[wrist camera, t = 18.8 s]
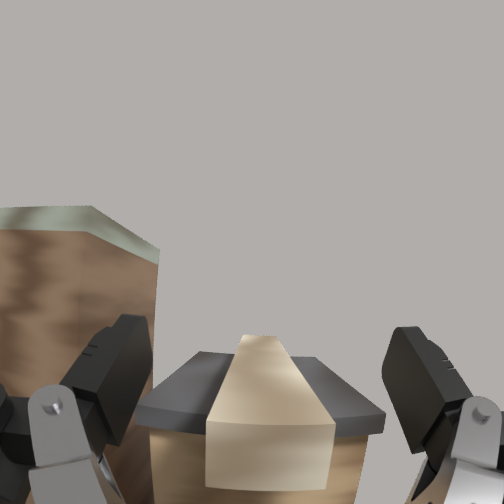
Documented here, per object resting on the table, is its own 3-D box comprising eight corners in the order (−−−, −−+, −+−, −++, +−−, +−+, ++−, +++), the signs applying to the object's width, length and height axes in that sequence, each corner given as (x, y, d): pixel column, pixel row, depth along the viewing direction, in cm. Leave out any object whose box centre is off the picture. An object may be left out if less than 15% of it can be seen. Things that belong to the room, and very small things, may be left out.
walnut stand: (160, 520, 24) (159, 249, 29) (124, 594, 10) (91, 205, 16) (85, 499, 24) (76, 245, 30) (31, 554, 10) (-13, 208, 16)
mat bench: (293, 528, 24) (314, 356, 28) (312, 630, 8) (386, 413, 11) (198, 524, 24) (199, 351, 28) (170, 625, 8) (134, 403, 11)
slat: (274, 357, 28) (275, 336, 28) (325, 489, 6) (336, 423, 6) (242, 355, 28) (243, 334, 28) (205, 486, 6) (206, 420, 6)
